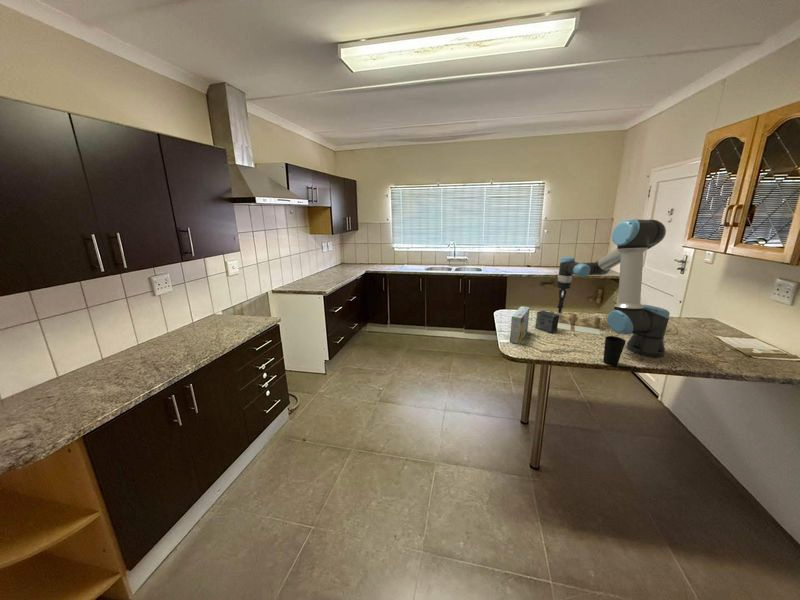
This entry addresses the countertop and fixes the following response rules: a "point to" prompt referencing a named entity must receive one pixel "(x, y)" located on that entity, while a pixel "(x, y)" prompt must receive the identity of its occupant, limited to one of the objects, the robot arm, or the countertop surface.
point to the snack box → (519, 324)
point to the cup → (613, 350)
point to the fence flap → (563, 318)
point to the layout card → (578, 328)
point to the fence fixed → (585, 321)
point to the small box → (547, 321)
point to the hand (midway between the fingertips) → (558, 317)
